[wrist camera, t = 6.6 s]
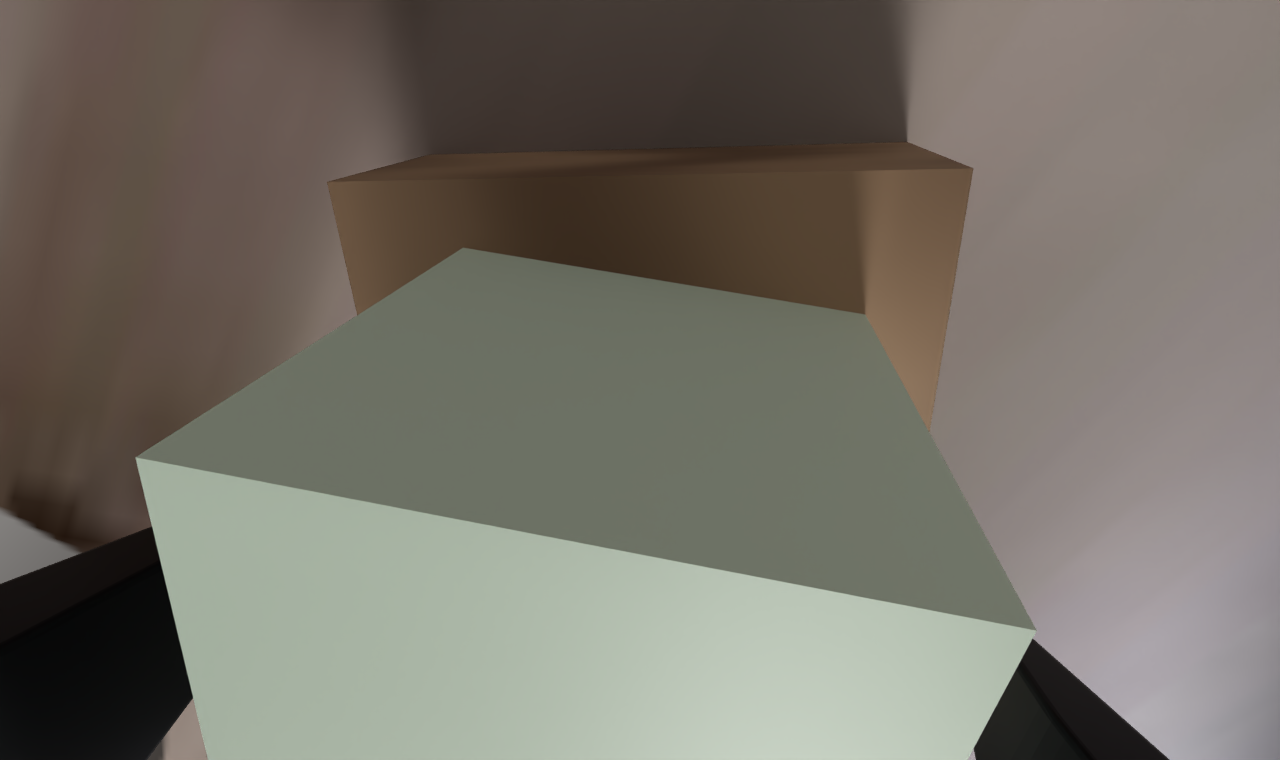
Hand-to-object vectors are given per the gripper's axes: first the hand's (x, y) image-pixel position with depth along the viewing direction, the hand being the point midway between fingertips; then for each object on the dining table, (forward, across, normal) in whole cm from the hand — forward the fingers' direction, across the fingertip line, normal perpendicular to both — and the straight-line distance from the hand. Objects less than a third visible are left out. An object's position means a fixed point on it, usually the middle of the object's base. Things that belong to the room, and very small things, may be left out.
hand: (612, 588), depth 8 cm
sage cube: (+3, 0, 0) cm, 3 cm away
